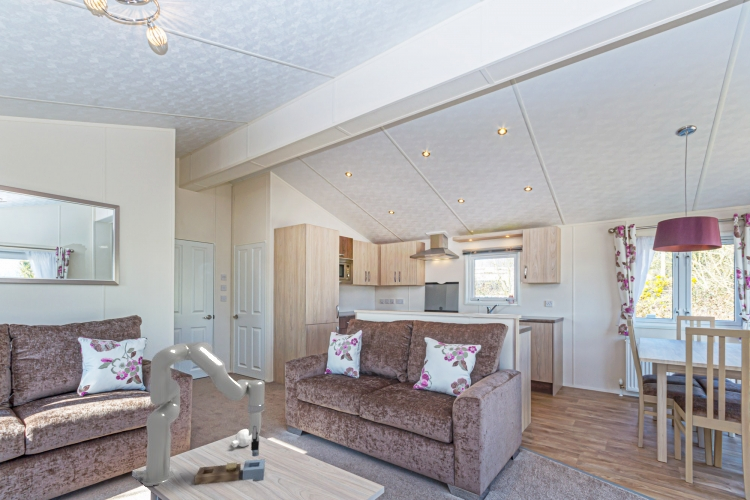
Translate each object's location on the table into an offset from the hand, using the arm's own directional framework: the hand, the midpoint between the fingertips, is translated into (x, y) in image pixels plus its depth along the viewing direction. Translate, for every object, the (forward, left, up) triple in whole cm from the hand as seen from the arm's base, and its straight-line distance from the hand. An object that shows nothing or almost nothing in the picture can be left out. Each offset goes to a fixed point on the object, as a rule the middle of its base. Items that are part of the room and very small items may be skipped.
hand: (255, 447), depth 181 cm
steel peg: (0, 0, -3) cm, 3 cm away
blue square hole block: (0, 0, -12) cm, 12 cm away
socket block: (-16, 0, -12) cm, 20 cm away
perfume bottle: (-10, +36, -13) cm, 39 cm away
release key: (-10, 0, -11) cm, 15 cm away
